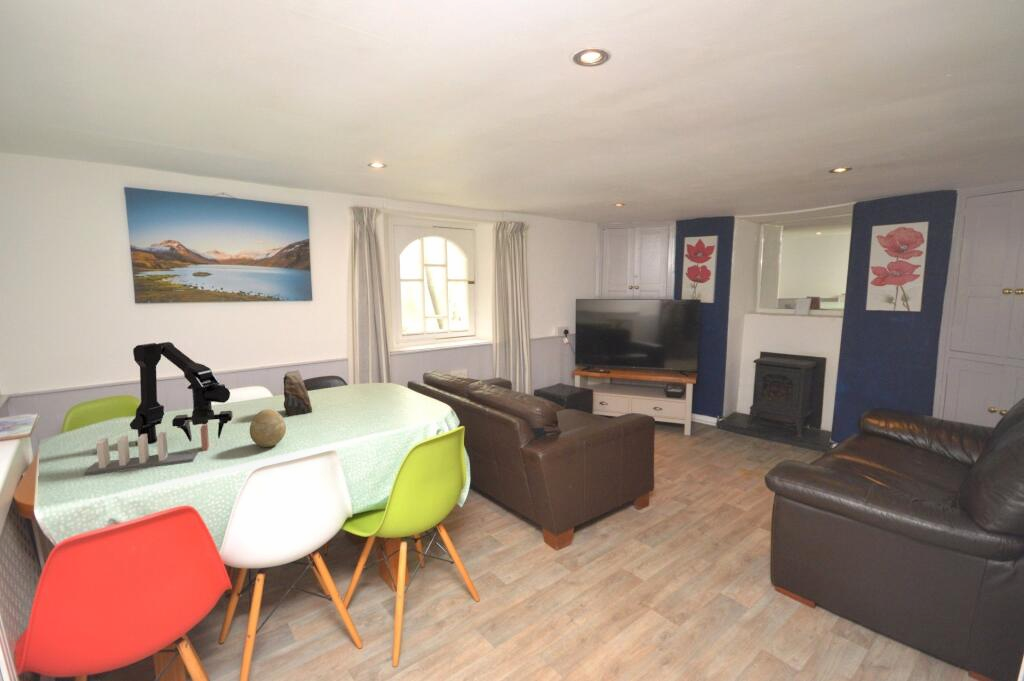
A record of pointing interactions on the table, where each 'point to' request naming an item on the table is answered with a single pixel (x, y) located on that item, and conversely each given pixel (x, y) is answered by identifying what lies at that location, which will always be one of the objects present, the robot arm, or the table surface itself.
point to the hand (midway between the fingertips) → (205, 439)
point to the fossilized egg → (267, 428)
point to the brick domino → (204, 437)
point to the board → (135, 464)
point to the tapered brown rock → (295, 395)
